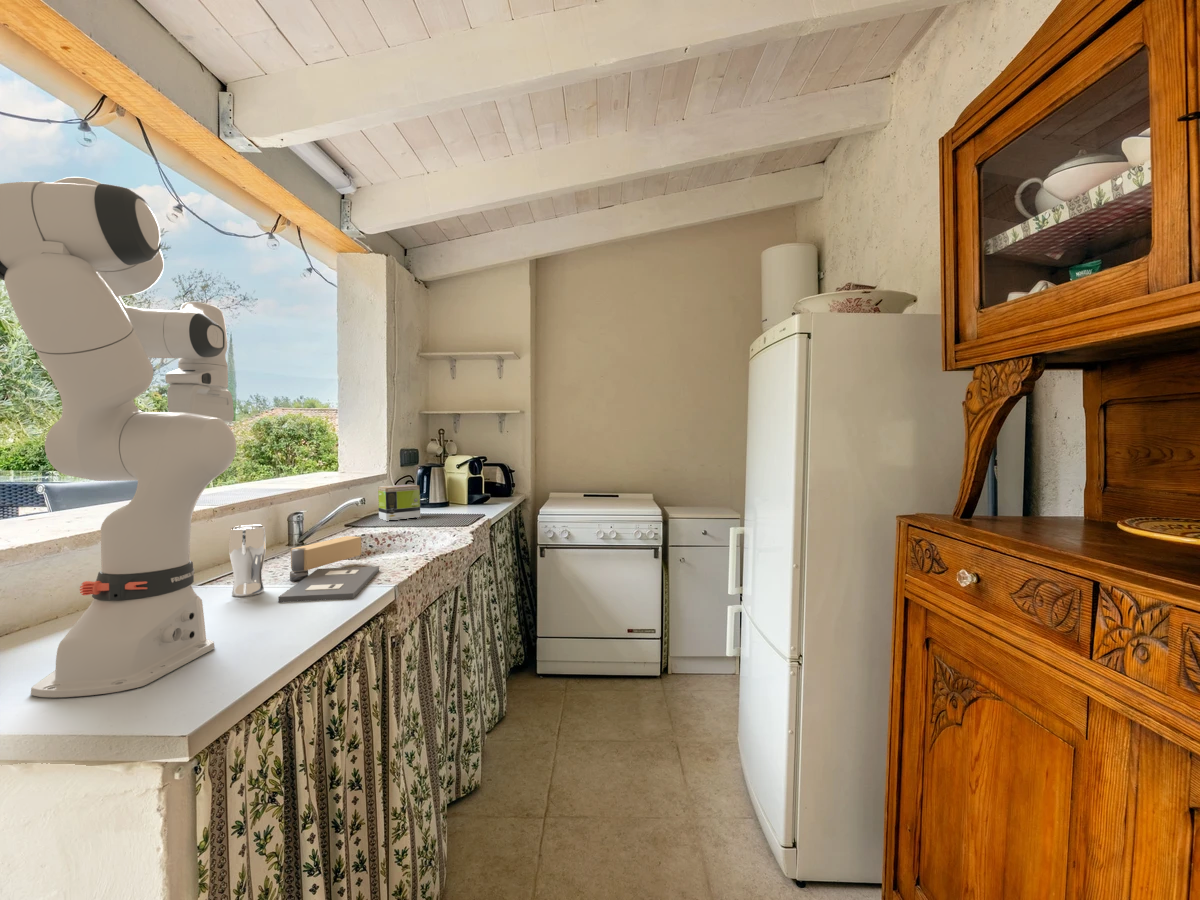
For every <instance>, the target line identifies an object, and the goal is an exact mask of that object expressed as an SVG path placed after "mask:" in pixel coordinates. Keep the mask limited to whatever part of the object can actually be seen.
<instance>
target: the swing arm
mask: <svg viewBox="0 0 1200 900" xmlns="http://www.w3.org/2000/svg"><path fill="white" fill-rule="evenodd" d="M361 555H362V536H350V535H345V536H341V537H336V538H332V539H327V540H323V541H319V542H314V543H310V544H306V545H302V546H297V547H292V548H291V549H290V569H291V571H302V570H308V571H310V570H313V569H316V568H317V569H318V568H319V567H324V566H327V565H331V564H333V563H338V562H340V561H345V560H348V559H351V558H356V557H358V556H361Z"/></svg>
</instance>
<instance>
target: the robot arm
mask: <svg viewBox="0 0 1200 900" xmlns="http://www.w3.org/2000/svg"><path fill="white" fill-rule="evenodd" d="M160 230H161V229H160V226H159V223H158V220H157V218H156V216H155V214H154V213H153V211H152V209H151V207H150V205H149V204H148V203H147V202H146V200H145V199H144V198H143V197H142V196H140V195H139V194H137V193H136V192H135V191H133V190H132V189H130V188H127V187H124V186H120V185H114V184H108V183H101V182H99V181H97V180H95V179H92V178H88V177H83V176H82V177H81V176H69V177H63V178H61V179H57V180H55V181H53V182H46V181H41V180H39V181H38V180H35V181H18V182H17V181H16V182H14V181H13V182H5V183H0V280H2V281H4V286H5V288H6V291H7V294H8V298H9V301H10V302H11V307H13V311H14V313H15V315H16V317H17V320H18V323H19V324H20V326H21V329H22V330H23V332H24V334H25V335H26V337H27V339H28V341H29V342H30V344H31V347H32V348H33V349H34V351H35V352H36V355H37V356H38V358H39V359H40V361H41V362H42V364H43V366H44V368H45V370H46V371H47V373H48V375H49V376H50V378H51V381H52V382H53V384H54V386H55V388H56V389H57V391H58V393H59V397H60V400H61V407H62V408H61V409H62V411H61V417H59V419H58V420H57V421H56V422H55V423H54V424H53V425H52V426H51V427H50V428H49V431H48V432H47V434H46V438H45V440H44V451H45V454H46V455H45V456H46V458H47V460H48V462H49V464H50V465H51V466H52V468H54V470H56V471H57V472H59V473H60V474H62V475H65V476H69V477H74V478H79V479H85V480H90V481H91V480H92V481H96V482H99V481H100V482H101V481H103V482H107V481H108V482H112V481H114V482H115V481H116V482H118V481H124V482H126V481H129V482H130V481H137V486H136V489H135V494H134V495H133V497H132V499H131V501H129V503H128V504H126V505H123V506H122V507H119V508H117V509H116V510H114V511H113V512H111V513H110V514H108V515H107V516H106V517H105V518H104V520H103V522H102V524H101V526H100V557H101V559H100V560H101V561H100V562H101V568H100V569H101V570H100V571H99V572H98V573H97V577H96V580H95V581H89V580H86V581H83V582H82V583H81V585H80V586H79V593H80V594H81V595H82V596H89V595H91V598H93V600H92V601H91V603H90V605H89V606H88V608H87V609H86V610H84V612H83V614H82V615H81V616H80V617H79V618H78V620H77V621H76V622H75V623H74V625H72V627H71V628H70V630H69V631H68V632H67V633H66V635H65V636H64V637H63V638H62V639H61V641H60V642H59V643H58V645H57V646H58V647H57V650H56V655H55V656H56V657H55V670H53V671H52V672H51V673H49V674H48V675H47V676H45V677H44V678H43V679H41V680H40V681H38V682H37V683H35V684H34V685H33V686H31V688H30V695H31V696H34V697H38V698H70V697H86V696H94V695H95V696H96V695H102V694H103V695H104V694H105V695H106V694H111V693H116V692H123V691H127V690H133V689H136V688H140V687H144V686H146V685H149V684H151V683H152V682H154V681H156V680H157V679H160V678H162V677H163V676H165V675H168V674H169V673H171V672H173V671H175V670H176V669H179V668H181V667H182V666H185V665H186V664H188V663H190V662H192V661H193V660H195V659H197V658H199V657H201V656H203V655H205V654H206V653H208V652H211V651H212V650H214V649H215V642H214V641H213V640H211V639H207V633H206V624H205V615H204V614H205V612H204V607H203V606H204V605H203V600H202V598H201V597H200V596H199V595H198V594H197V593H196V592H195V590H194V589H193V587H192V584H193V583H194V582H195V577H194V576H195V575H194V574H195V568H194V563H193V562H194V561H191V555H190V554H191V551H190V550H191V531H192V530H191V529H192V528H191V527H192V519H193V514H194V510H195V508H196V504H197V503H198V500H199V498H200V496H201V495H202V493H203V492H204V490H205V489H206V488H207V487H208V486H209V485H210V484H211V482H213V481H214V480H215V479H216V478H217V477H219V476H221V475H222V474H223V473H225V471H227V470H228V469H229V468H230V466H231V464H232V463H233V462H234V459H235V456H236V451H237V441H236V437H235V435H234V432H233V431H232V429H231V427H230V426H229V425H228V424H227V423H233V421H234V418H235V415H234V413H235V411H234V401H233V399H234V398H233V396H232V392H231V391H230V390H229V389H228V388H229V384H228V383H229V380H228V379H229V377H228V376H229V370H228V369H229V368H228V362H227V360H226V355H227V354H226V353H227V350H228V334H227V326H226V320H225V319H226V318H225V315H224V312H223V310H222V309H220V307H218V306H216V305H213V304H210V303H207V302H201V301H186V302H184V303H182V305H181V306H180V309H179V310H174V309H173V310H172V309H171V310H170V309H169V310H168V309H151V308H150V309H149V308H148V309H147V308H138V307H133V306H129V305H126V304H125V303H124V301H123V299H122V297H124V296H125V297H126V296H134V295H137V294H140V293H143V292H145V291H147V290H148V289H150V288H151V287H152V286H154V285H155V284H157V282H158V281H159V280H160V278H161V277H162V274H163V272H164V265H165V263H164V262H165V261H164V256H163V253H162V250H161V246H162V245H161V242H162V241H161V231H160ZM149 358H150V359H178V363H177V365H178V366H177V367H178V368H177V369H175V370H174V369H173V370H172V371H169V372H167V373H165V383H167V384H168V386H167V392H166V393H167V394H166V395H167V397H166V398H167V411H168V412H156V411H154V412H152V411H150V412H149V411H148V412H147V411H143V410H141V409H140V408H138V407H137V405H136V404H135V399H136V398H137V397H139V396H140V395H142V394H143V393H145V392H146V391H147V390H148V389H149V387H150V385H151V384H152V381H153V377H154V367H153V364H152V362H151V360H150V359H149Z"/></svg>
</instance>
